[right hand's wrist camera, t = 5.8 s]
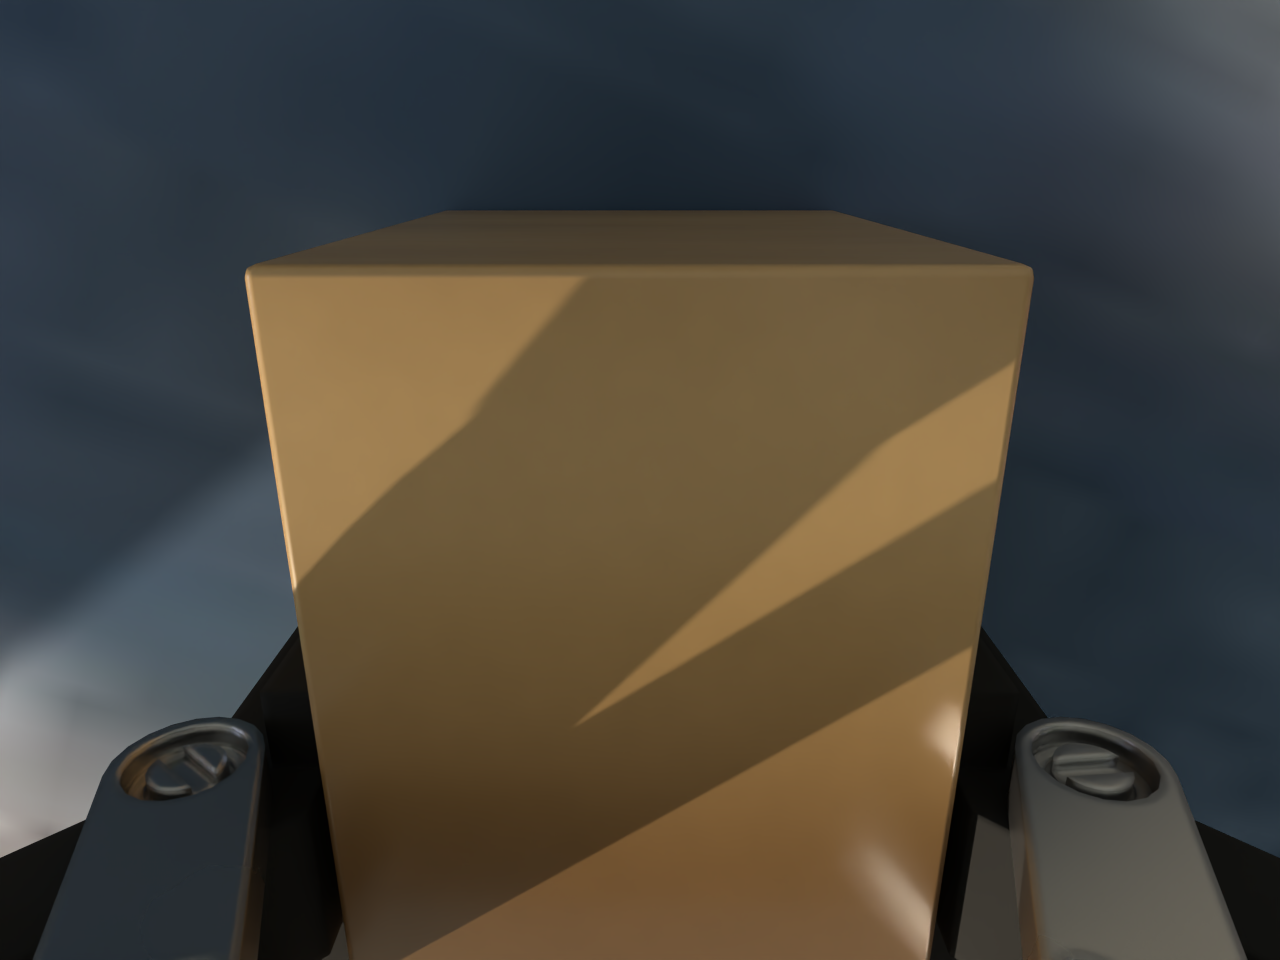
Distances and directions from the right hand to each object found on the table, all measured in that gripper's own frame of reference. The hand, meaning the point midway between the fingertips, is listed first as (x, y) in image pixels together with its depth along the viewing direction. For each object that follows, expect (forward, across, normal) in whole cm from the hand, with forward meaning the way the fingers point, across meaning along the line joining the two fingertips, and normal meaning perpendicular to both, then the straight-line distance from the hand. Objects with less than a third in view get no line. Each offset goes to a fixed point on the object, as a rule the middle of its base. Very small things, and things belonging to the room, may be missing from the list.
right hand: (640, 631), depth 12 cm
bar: (+2, 0, -31) cm, 31 cm away
